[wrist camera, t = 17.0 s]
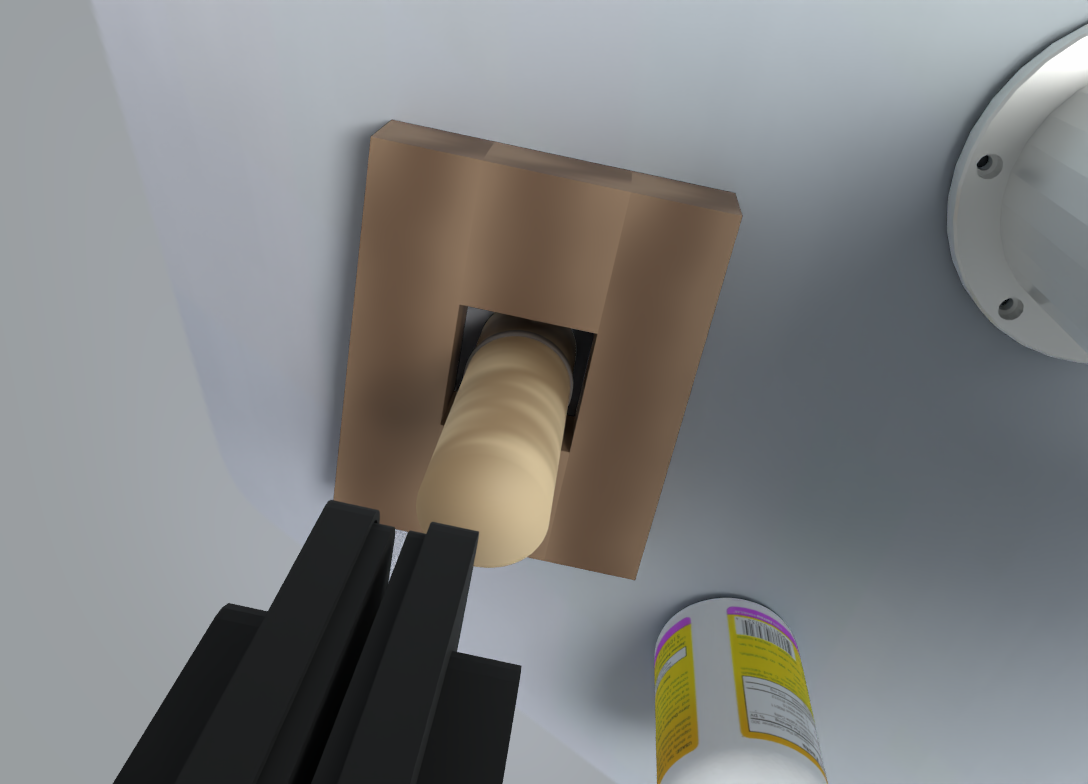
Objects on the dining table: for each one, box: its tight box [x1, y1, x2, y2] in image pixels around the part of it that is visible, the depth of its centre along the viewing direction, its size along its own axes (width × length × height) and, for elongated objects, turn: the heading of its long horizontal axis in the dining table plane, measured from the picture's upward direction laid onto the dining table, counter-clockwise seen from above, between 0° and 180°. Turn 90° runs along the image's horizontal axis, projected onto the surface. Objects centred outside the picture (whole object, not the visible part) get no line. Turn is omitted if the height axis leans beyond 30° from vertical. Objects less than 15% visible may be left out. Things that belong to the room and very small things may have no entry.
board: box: [334, 120, 742, 580], centre depth 37 cm, size 13×16×3 cm
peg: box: [416, 312, 576, 568], centre depth 33 cm, size 4×4×12 cm
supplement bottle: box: [654, 598, 828, 784], centre depth 39 cm, size 7×7×13 cm
